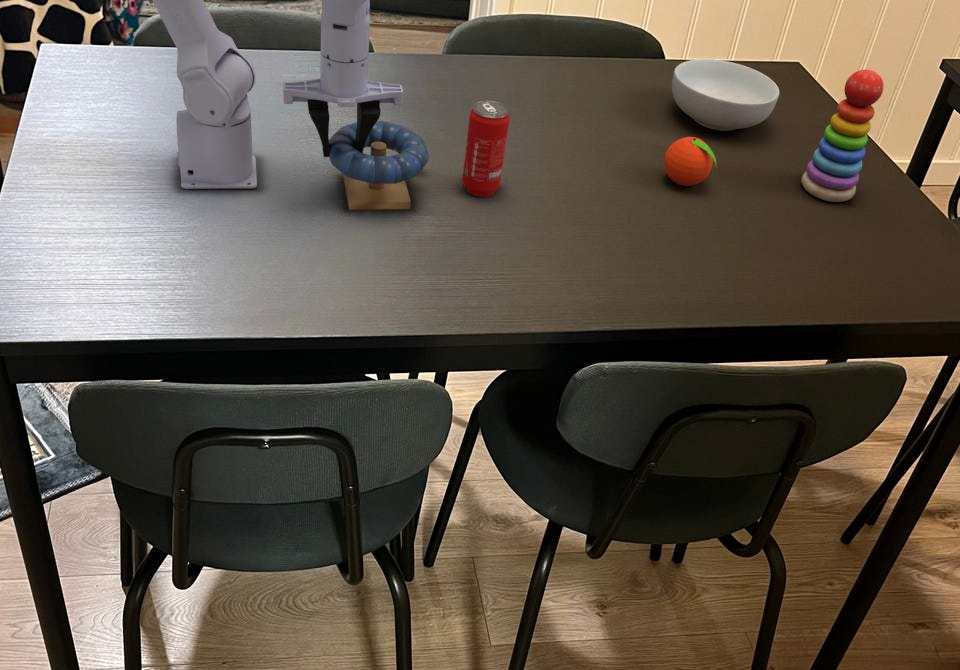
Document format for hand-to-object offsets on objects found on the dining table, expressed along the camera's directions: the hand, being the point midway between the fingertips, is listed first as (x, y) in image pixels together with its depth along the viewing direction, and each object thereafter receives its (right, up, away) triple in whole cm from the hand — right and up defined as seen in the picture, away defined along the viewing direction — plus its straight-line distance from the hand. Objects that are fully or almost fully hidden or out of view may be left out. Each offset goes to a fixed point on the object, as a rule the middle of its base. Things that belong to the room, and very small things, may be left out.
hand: (341, 153), depth 123 cm
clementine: (+48, -1, +17) cm, 51 cm away
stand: (+4, -4, +5) cm, 8 cm away
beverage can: (+18, -3, +9) cm, 20 cm away
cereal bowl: (+56, +12, +34) cm, 67 cm away
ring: (+5, 0, +1) cm, 5 cm away
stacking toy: (+70, -2, +20) cm, 72 cm away
